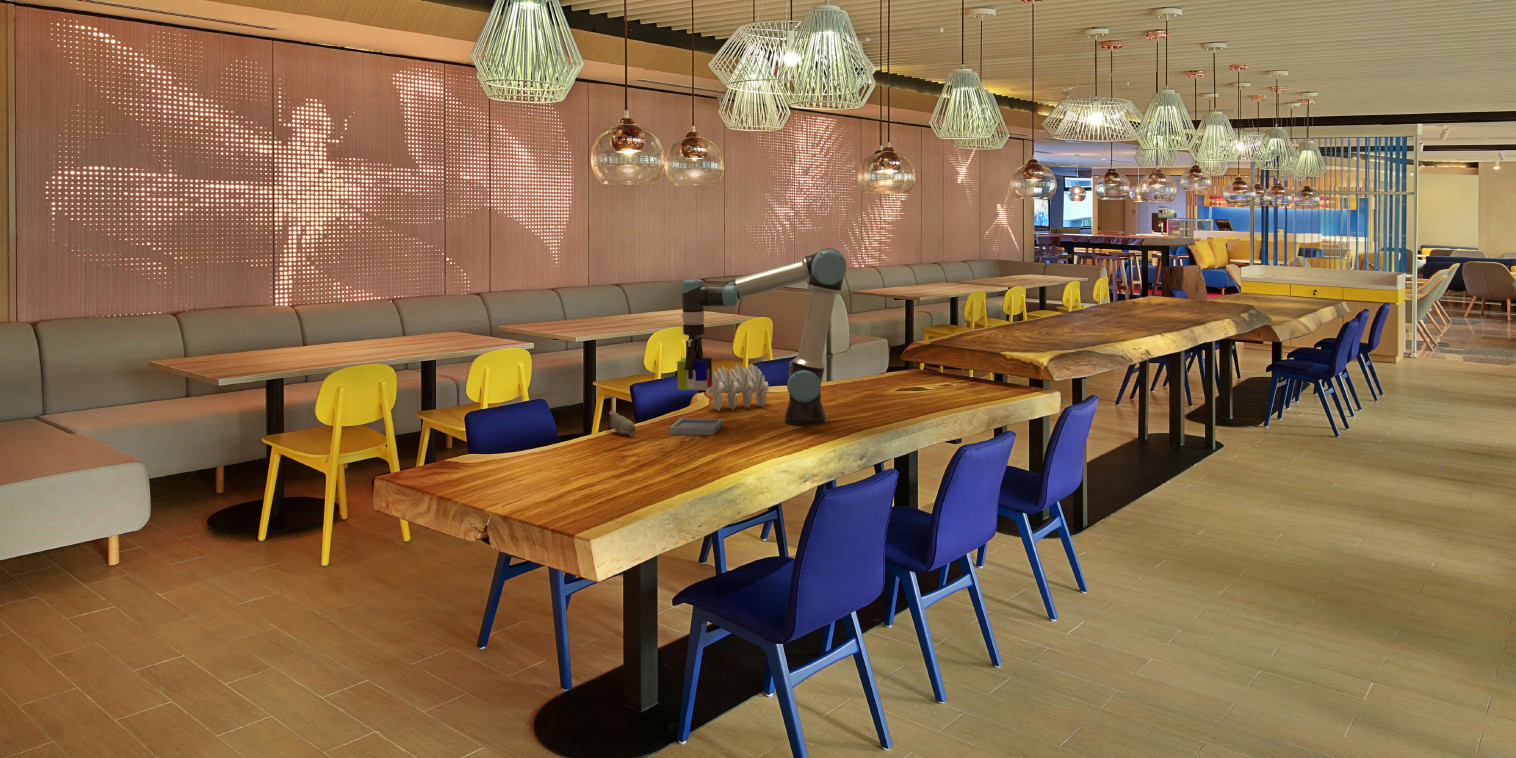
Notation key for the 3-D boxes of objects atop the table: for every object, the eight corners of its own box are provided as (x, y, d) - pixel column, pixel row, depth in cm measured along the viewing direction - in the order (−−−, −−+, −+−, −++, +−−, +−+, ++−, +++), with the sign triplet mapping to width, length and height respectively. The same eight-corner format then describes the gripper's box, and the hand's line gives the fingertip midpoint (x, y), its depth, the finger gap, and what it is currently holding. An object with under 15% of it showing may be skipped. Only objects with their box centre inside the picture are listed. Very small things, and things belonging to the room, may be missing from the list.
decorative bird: (626, 439, 357) (625, 418, 356) (605, 432, 370) (604, 411, 369) (640, 437, 361) (639, 416, 359) (618, 430, 373) (617, 409, 372)
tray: (723, 425, 377) (722, 419, 376) (713, 435, 361) (713, 428, 361) (680, 424, 380) (680, 418, 379) (669, 434, 364) (668, 427, 364)
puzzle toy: (705, 390, 362) (704, 362, 360) (677, 389, 364) (677, 361, 362) (712, 385, 372) (711, 358, 370) (685, 384, 374) (684, 357, 372)
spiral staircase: (769, 417, 409) (710, 420, 400) (755, 392, 422) (697, 394, 413) (778, 379, 399) (717, 381, 390) (764, 355, 413) (704, 356, 404)
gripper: (691, 319, 376) (692, 379, 379) (675, 327, 354) (676, 390, 357) (711, 319, 374) (712, 380, 378) (696, 327, 352) (697, 391, 356)
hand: (695, 385), depth 368 cm, fingers closed on puzzle toy, 10 cm apart
